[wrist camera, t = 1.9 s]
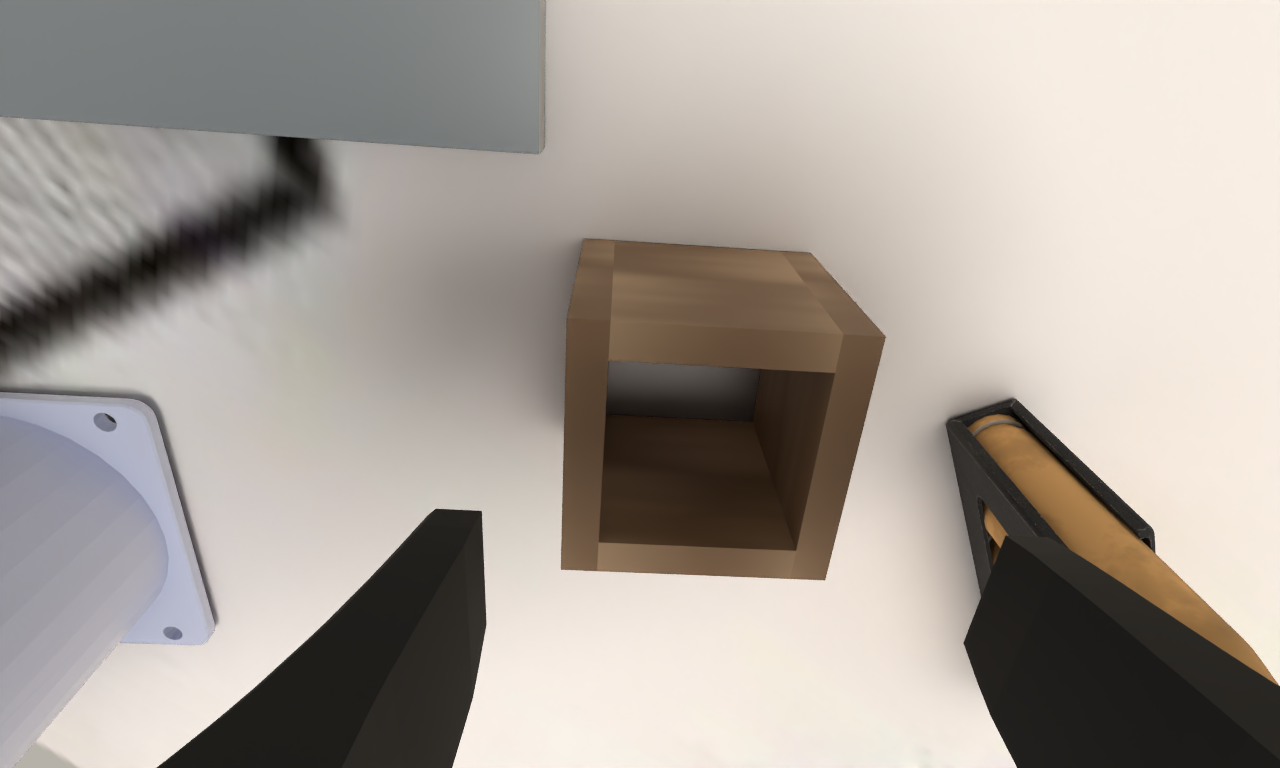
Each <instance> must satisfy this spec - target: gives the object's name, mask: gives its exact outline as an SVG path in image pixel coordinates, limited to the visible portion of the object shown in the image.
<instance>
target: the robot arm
mask: <svg viewBox="0 0 1280 768" xmlns="http://www.w3.org/2000/svg"><path fill="white" fill-rule="evenodd" d="M105 414H108V415H110V416H111V417H113V418H114V420H115V421H116V423H114V422H112V421H110V420H109V419H108V418H107V417H106V415H105ZM485 629H486V604H485V580H484V555H483V531H482V511H471V510H449V509H435V510H434V511H433V512H431V513H430V514H429V515H428V516H427V517H426V518H425V519H424V520H423V521H422V522H421V523H420V525H419V526H418V527H417V528H416V529H415V530H414V531H413V532H412V533H411V535H410V536H409V537H408V538H407V539H406V540H405V541H404V542H403V543H402V544H401V545H400V547H399V548H398V549H397V550H396V551H395V552H394V553H393V554H392V555H391V556H390V557H389V558H388V559H387V561H386V562H385V563H384V564H383V565H382V566H381V567H380V568H379V569H378V570H377V571H376V572H375V573H374V574H373V575H372V576H371V577H370V578H369V580H368V581H367V582H366V583H365V584H364V585H363V586H362V587H361V588H360V589H359V590H358V591H357V592H356V593H355V594H354V595H353V596H352V597H351V598H350V599H349V600H348V601H347V602H346V603H345V604H344V605H343V606H342V607H341V608H340V609H339V610H338V611H337V612H336V613H335V614H334V615H333V616H332V617H331V618H330V619H329V620H328V621H327V622H326V623H325V624H324V625H323V626H321V627H320V628H319V629H318V630H317V631H316V632H315V633H314V634H313V635H312V636H311V637H310V638H309V639H308V640H307V641H305V642H304V643H303V644H302V645H301V646H300V647H299V648H298V649H297V650H296V651H294V652H293V653H292V654H291V655H290V656H289V657H288V658H287V659H286V660H285V661H284V662H282V663H281V664H280V665H279V666H278V667H277V668H276V669H275V670H274V671H273V672H272V673H270V674H269V675H268V676H267V677H266V678H265V679H264V680H263V681H262V682H261V683H259V684H258V685H257V686H256V687H255V688H254V689H253V690H251V691H250V692H249V693H248V694H247V695H246V696H244V697H243V698H242V699H241V700H240V701H239V702H237V703H236V704H235V705H234V706H233V707H231V708H230V709H229V710H228V711H227V712H226V713H224V714H223V715H222V716H221V717H220V718H218V719H217V720H216V721H215V722H213V723H212V724H211V725H210V726H209V727H207V728H206V729H205V730H204V731H202V732H201V733H200V734H199V735H197V736H196V737H195V738H194V739H192V740H191V741H190V742H189V743H187V744H186V745H185V746H184V747H182V748H181V749H180V750H179V751H177V752H176V753H175V754H174V755H172V756H171V757H170V758H169V759H167V760H166V761H165V762H163V763H162V764H161V765H159V766H158V767H157V768H452V766H453V763H454V760H455V756H456V753H457V749H458V746H459V743H460V739H461V736H462V733H463V729H464V726H465V722H466V719H467V716H468V712H469V709H470V705H471V702H472V698H473V694H474V689H475V683H476V678H477V673H478V668H479V663H480V657H481V651H482V646H483V640H484V635H485ZM214 631H215V623H214V620H213V616H212V613H211V609H210V606H209V602H208V599H207V595H206V591H205V588H204V584H203V581H202V577H201V574H200V570H199V567H198V563H197V560H196V556H195V552H194V549H193V545H192V542H191V538H190V535H189V531H188V528H187V524H186V520H185V517H184V513H183V510H182V506H181V503H180V499H179V496H178V492H177V489H176V485H175V481H174V478H173V474H172V471H171V467H170V464H169V460H168V457H167V453H166V449H165V446H164V442H163V439H162V435H161V432H160V428H159V425H158V421H157V418H156V416H155V414H154V412H153V410H152V409H151V408H150V407H149V406H148V405H146V404H145V403H143V402H141V401H139V400H134V399H128V398H108V397H88V396H69V395H49V394H29V393H10V392H0V768H13V767H14V766H15V765H16V764H17V763H18V761H19V760H20V759H21V758H22V757H23V755H24V754H25V753H26V752H27V751H28V750H29V748H30V747H31V746H32V745H33V744H34V742H35V741H36V740H37V739H38V738H39V737H40V735H41V734H42V733H43V732H44V731H45V729H46V728H47V727H48V726H49V725H50V724H51V722H52V721H53V720H54V719H55V718H56V717H57V715H58V714H59V713H60V712H61V711H62V709H63V708H64V707H65V706H66V705H67V704H68V702H69V701H70V700H71V699H72V698H73V696H74V695H75V694H76V693H77V692H78V691H79V689H80V688H81V687H82V686H83V685H84V683H85V682H86V681H87V680H88V679H89V678H90V676H91V675H92V674H93V673H94V672H95V670H96V669H97V668H98V667H99V666H100V665H101V663H102V662H103V661H104V660H105V659H106V657H107V656H108V655H109V654H110V653H111V652H112V650H113V649H114V648H115V647H116V646H117V644H118V643H145V644H175V645H200V644H204V643H206V642H207V641H208V639H209V638H210V637H211V635H212V634H213V632H214ZM964 645H965V648H966V651H967V654H968V657H969V660H970V662H971V665H972V668H973V671H974V674H975V677H976V679H977V682H978V685H979V687H980V690H981V692H982V695H983V697H984V700H985V702H986V705H987V708H988V710H989V713H990V715H991V717H992V719H993V721H994V723H995V725H996V727H997V729H998V731H999V733H1000V735H1001V737H1002V739H1003V741H1004V743H1005V745H1006V747H1007V749H1008V751H1009V752H1010V754H1011V756H1012V758H1013V760H1014V762H1015V764H1016V766H1017V768H1280V686H1278V685H1277V684H1275V683H1274V682H1272V681H1270V680H1269V679H1267V678H1266V677H1264V676H1263V675H1261V674H1259V673H1258V672H1256V671H1255V670H1253V669H1252V668H1250V667H1248V666H1247V665H1245V664H1244V663H1242V662H1241V661H1239V660H1238V659H1236V658H1234V657H1233V656H1231V655H1230V654H1228V653H1227V652H1225V651H1224V650H1222V649H1221V648H1219V647H1218V646H1216V645H1215V644H1213V643H1212V642H1210V641H1208V640H1207V639H1205V638H1204V637H1202V636H1201V635H1199V634H1198V633H1196V632H1195V631H1193V630H1192V629H1190V628H1189V627H1187V626H1186V625H1184V624H1183V623H1181V622H1180V621H1178V620H1177V619H1175V618H1174V617H1172V616H1171V615H1169V614H1168V613H1166V612H1165V611H1163V610H1162V609H1160V608H1159V607H1157V606H1156V605H1154V604H1153V603H1151V602H1150V601H1148V600H1147V599H1145V598H1144V597H1142V596H1141V595H1139V594H1138V593H1136V592H1135V591H1133V590H1132V589H1130V588H1129V587H1127V586H1126V585H1124V584H1123V583H1121V582H1120V581H1118V580H1117V579H1115V578H1114V577H1112V576H1111V575H1109V574H1107V573H1106V572H1104V571H1103V570H1101V569H1100V568H1098V567H1097V566H1095V565H1094V564H1092V563H1090V562H1089V561H1087V560H1086V559H1084V558H1083V557H1081V556H1079V555H1078V554H1076V553H1074V552H1073V551H1071V550H1069V549H1068V548H1066V547H1064V546H1063V545H1061V544H1059V543H1057V542H1056V541H1054V540H1052V539H1050V538H1048V537H1029V536H1007V535H1005V538H1004V540H1003V543H1002V546H1001V548H1000V551H999V553H998V556H997V558H996V561H995V564H994V566H993V569H992V571H991V574H990V576H989V579H988V582H987V584H986V587H985V589H984V592H983V594H982V597H981V600H980V602H979V605H978V607H977V610H976V612H975V615H974V617H973V620H972V623H971V625H970V628H969V630H968V633H967V635H966V638H965V641H964Z"/></svg>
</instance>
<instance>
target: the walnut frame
mask: <svg viewBox="0 0 1280 768" xmlns="http://www.w3.org/2000/svg"><path fill="white" fill-rule="evenodd" d="M885 338H886V337H885V335H884V334H883V333H882V332H881V331H880V330H879V329H878V328H877V327H876V325H875V324H874V323H873V322H872V321H871V320H870V319H869V318H868V316H867V315H866V314H865V313H864V312H863V311H862V310H861V309H860V308H859V306H858V305H857V304H856V303H855V302H854V301H853V300H852V299H851V297H850V296H849V295H848V294H847V293H846V292H845V291H844V290H843V289H842V287H841V286H840V285H839V284H838V283H837V282H836V281H835V280H834V278H833V277H832V276H831V275H830V274H829V273H828V272H827V271H826V270H825V268H824V267H823V266H822V265H821V264H820V263H819V262H818V261H817V259H816V258H815V257H814V256H813V255H812V254H811V253H801V252H785V251H770V250H754V249H738V248H723V247H707V246H692V245H676V244H661V243H645V242H629V241H614V240H598V239H584V240H583V245H582V249H581V254H580V259H579V263H578V268H577V273H576V278H575V282H574V287H573V292H572V296H571V301H570V306H569V311H568V315H567V334H566V376H565V418H564V461H563V503H562V545H561V570H584V571H609V572H634V573H659V574H684V575H709V576H733V577H758V578H783V579H808V580H825V578H826V574H827V570H828V566H829V562H830V558H831V554H832V550H833V546H834V542H835V538H836V534H837V530H838V526H839V522H840V518H841V514H842V510H843V506H844V502H845V498H846V494H847V490H848V486H849V482H850V478H851V474H852V470H853V466H854V462H855V458H856V454H857V450H858V446H859V442H860V438H861V434H862V430H863V426H864V422H865V418H866V414H867V410H868V406H869V402H870V398H871V394H872V390H873V386H874V382H875V378H876V374H877V370H878V366H879V362H880V358H881V354H882V350H883V346H884V342H885ZM609 360H610V361H628V362H646V363H664V364H682V365H700V366H718V367H736V368H754V369H761V374H760V380H759V386H758V392H757V398H756V404H755V410H754V416H753V422H742V421H723V420H704V419H684V418H665V417H645V416H626V415H607V414H606V397H607V379H608V361H609Z"/></svg>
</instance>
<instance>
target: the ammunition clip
mask: <svg viewBox="0 0 1280 768" xmlns="http://www.w3.org/2000/svg"><path fill="white" fill-rule="evenodd" d="M946 428H947V432H948V437H949V442H950V447H951V452H952V457H953V462H954V467H955V471H956V476H957V481H958V486H959V491H960V496H961V501H962V506H963V510H964V515H965V520H966V525H967V530H968V535H969V540H970V544H971V549H972V554H973V559H974V564H975V569H976V574H977V579H978V583H979V588H980V593H981V597H982V594H983V592H984V589H985V587H986V584H987V582H988V579H989V576H990V574H991V571H992V569H993V566H994V564H995V561H996V558H997V556H998V553H999V551H1000V548H1001V546H1002V543H1003V540H1004V538H1005V535H1007V536H1029V537H1048V538H1050V539H1052V540H1054V541H1056V542H1057V543H1059V544H1061V545H1063V546H1064V547H1066V548H1068V549H1069V550H1071V551H1073V552H1074V553H1076V554H1078V555H1079V556H1081V557H1083V558H1084V559H1086V560H1087V561H1089V562H1090V563H1092V564H1094V565H1095V566H1097V567H1098V568H1100V569H1101V570H1103V571H1104V572H1106V573H1107V574H1109V575H1111V576H1112V577H1114V578H1115V579H1117V580H1118V581H1120V582H1121V583H1123V584H1124V585H1126V586H1127V587H1129V588H1130V589H1132V590H1133V591H1135V592H1136V593H1138V594H1139V595H1141V596H1142V597H1144V598H1145V599H1147V600H1148V601H1150V602H1151V603H1153V604H1154V605H1156V606H1157V607H1159V608H1160V609H1162V610H1163V611H1165V612H1166V613H1168V614H1169V615H1171V616H1172V617H1174V618H1175V619H1177V620H1178V621H1180V622H1181V623H1183V624H1184V625H1186V626H1187V627H1189V628H1190V629H1192V630H1193V631H1195V632H1196V633H1198V634H1199V635H1201V636H1202V637H1204V638H1205V639H1207V640H1208V641H1210V642H1212V643H1213V644H1215V645H1216V646H1218V647H1219V648H1221V649H1222V650H1224V651H1225V652H1227V653H1228V654H1230V655H1231V656H1233V657H1234V658H1236V659H1238V660H1239V661H1241V662H1242V663H1244V664H1245V665H1247V666H1248V667H1250V668H1252V669H1253V670H1255V671H1256V672H1258V673H1259V674H1261V675H1263V676H1264V677H1266V678H1267V679H1269V680H1270V681H1272V682H1274V683H1275V684H1277V685H1278V683H1277V682H1276V681H1275V679H1274V678H1273V676H1272V675H1271V673H1270V672H1269V671H1268V669H1267V668H1266V666H1265V665H1264V664H1263V662H1262V661H1261V659H1260V658H1259V657H1258V656H1257V654H1256V653H1255V652H1254V650H1253V649H1252V648H1251V647H1250V646H1249V645H1248V643H1247V642H1246V641H1245V640H1244V639H1243V638H1242V637H1241V636H1240V635H1239V634H1238V633H1237V632H1236V631H1235V630H1234V629H1233V628H1232V627H1231V626H1229V625H1228V624H1227V623H1226V622H1225V621H1224V620H1223V619H1222V618H1221V617H1220V616H1219V615H1218V614H1217V613H1216V612H1215V611H1214V610H1213V609H1212V608H1211V607H1210V606H1209V605H1208V604H1207V603H1206V602H1205V601H1204V600H1203V599H1202V598H1201V597H1200V596H1199V595H1198V594H1196V593H1195V592H1194V591H1193V590H1192V589H1191V588H1190V587H1189V586H1188V585H1187V584H1186V583H1185V582H1184V581H1183V580H1182V579H1181V578H1180V577H1179V576H1178V575H1177V574H1176V573H1175V572H1174V571H1173V570H1172V569H1171V568H1170V567H1169V566H1168V565H1167V564H1166V563H1165V562H1163V561H1162V560H1161V559H1160V558H1159V557H1158V556H1157V555H1156V554H1155V536H1154V531H1153V529H1152V527H1151V526H1149V525H1148V524H1147V523H1146V522H1145V521H1144V520H1143V519H1142V518H1141V517H1140V516H1139V515H1138V514H1137V513H1136V512H1135V511H1134V510H1133V509H1132V508H1130V507H1129V506H1128V505H1127V504H1126V503H1125V502H1124V501H1123V500H1122V499H1121V498H1120V497H1119V496H1118V495H1117V494H1116V493H1115V492H1114V491H1113V490H1112V489H1110V488H1109V487H1108V486H1107V485H1106V484H1105V483H1104V482H1103V481H1102V480H1101V479H1100V478H1099V477H1098V476H1097V475H1096V474H1095V473H1094V472H1093V471H1091V470H1090V469H1089V468H1088V467H1087V466H1086V465H1085V464H1084V463H1083V462H1082V461H1081V460H1080V459H1079V458H1078V457H1077V456H1076V455H1075V454H1074V453H1073V452H1071V451H1070V450H1069V449H1068V448H1067V447H1066V446H1065V445H1064V444H1063V443H1062V442H1061V441H1060V440H1059V439H1058V438H1057V437H1056V436H1055V435H1054V434H1052V433H1051V432H1050V431H1049V430H1048V429H1047V428H1046V427H1045V426H1044V425H1043V424H1042V423H1041V422H1040V421H1039V420H1038V419H1037V418H1036V417H1035V416H1033V415H1032V414H1031V413H1030V412H1029V411H1028V410H1027V409H1026V408H1025V407H1024V406H1023V405H1022V404H1021V403H1020V402H1019V401H1017V400H1012V401H1009V402H1006V403H1003V404H1000V405H997V406H994V407H990V408H987V409H984V410H981V411H978V412H975V413H972V414H969V415H965V416H962V417H959V418H956V419H953V420H950V422H949V423H948V424H947V425H946ZM1278 686H1279V685H1278Z"/></svg>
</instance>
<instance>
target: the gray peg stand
mask: <svg viewBox="0 0 1280 768" xmlns="http://www.w3.org/2000/svg"><path fill="white" fill-rule="evenodd" d="M0 117H13V118H27V119H42V120H56V121H70V122H84V123H99V124H113V125H127V126H142V127H156V128H170V129H185V130H199V131H213V132H227V133H242V134H256V135H270V136H285V137H299V138H313V139H327V140H342V141H356V142H370V143H385V144H399V145H413V146H428V147H442V148H456V149H470V150H485V151H499V152H513V153H528V154H540V152H541V151H542V150H543V149H544V125H545V0H0Z"/></svg>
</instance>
